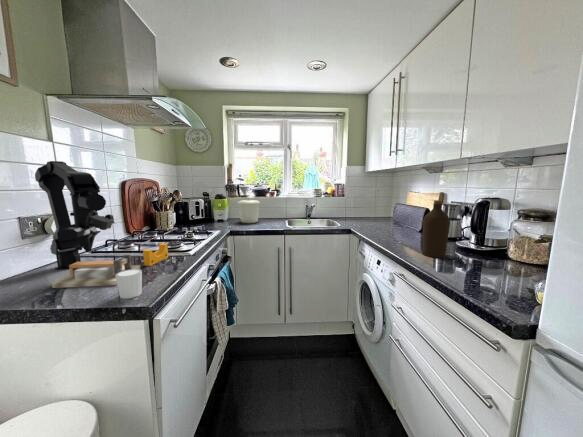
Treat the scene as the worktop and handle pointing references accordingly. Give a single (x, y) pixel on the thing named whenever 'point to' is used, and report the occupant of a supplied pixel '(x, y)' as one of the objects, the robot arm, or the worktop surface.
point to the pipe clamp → (155, 255)
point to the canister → (248, 210)
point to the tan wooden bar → (93, 264)
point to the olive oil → (435, 232)
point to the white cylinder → (129, 283)
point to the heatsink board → (88, 281)
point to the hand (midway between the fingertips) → (88, 251)
